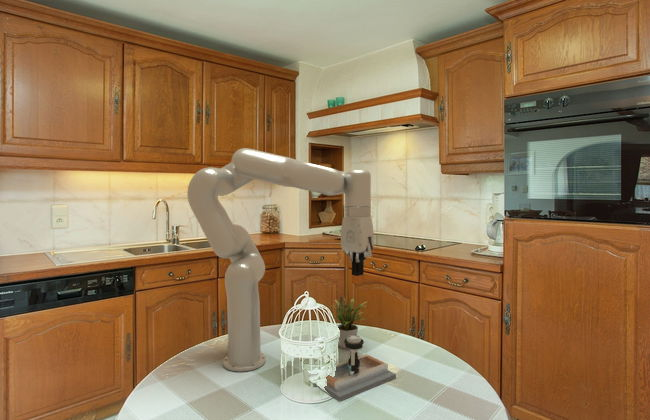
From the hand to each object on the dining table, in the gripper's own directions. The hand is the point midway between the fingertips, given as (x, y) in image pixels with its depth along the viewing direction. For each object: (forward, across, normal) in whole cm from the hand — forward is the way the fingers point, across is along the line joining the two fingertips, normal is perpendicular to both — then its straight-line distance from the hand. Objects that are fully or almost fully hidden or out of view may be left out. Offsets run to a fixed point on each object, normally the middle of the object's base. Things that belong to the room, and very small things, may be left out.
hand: (357, 274), depth 116 cm
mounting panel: (+27, +6, -7) cm, 29 cm away
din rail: (+26, +6, -7) cm, 27 cm away
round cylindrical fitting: (+26, +6, -7) cm, 27 cm away
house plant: (+27, -12, +7) cm, 31 cm away
